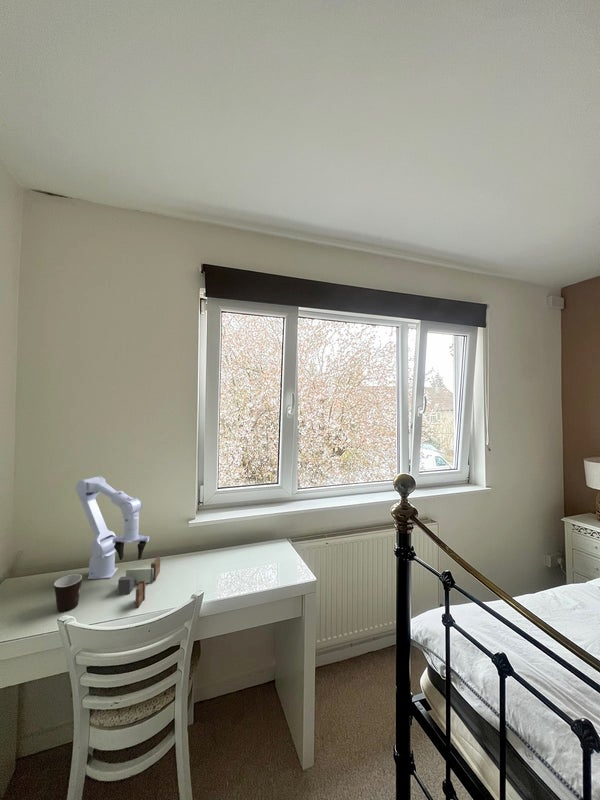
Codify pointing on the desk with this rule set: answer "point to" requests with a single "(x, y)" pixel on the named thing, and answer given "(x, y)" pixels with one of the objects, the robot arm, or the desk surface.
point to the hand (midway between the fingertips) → (130, 558)
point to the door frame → (141, 587)
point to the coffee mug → (67, 592)
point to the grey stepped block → (126, 585)
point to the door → (141, 574)
